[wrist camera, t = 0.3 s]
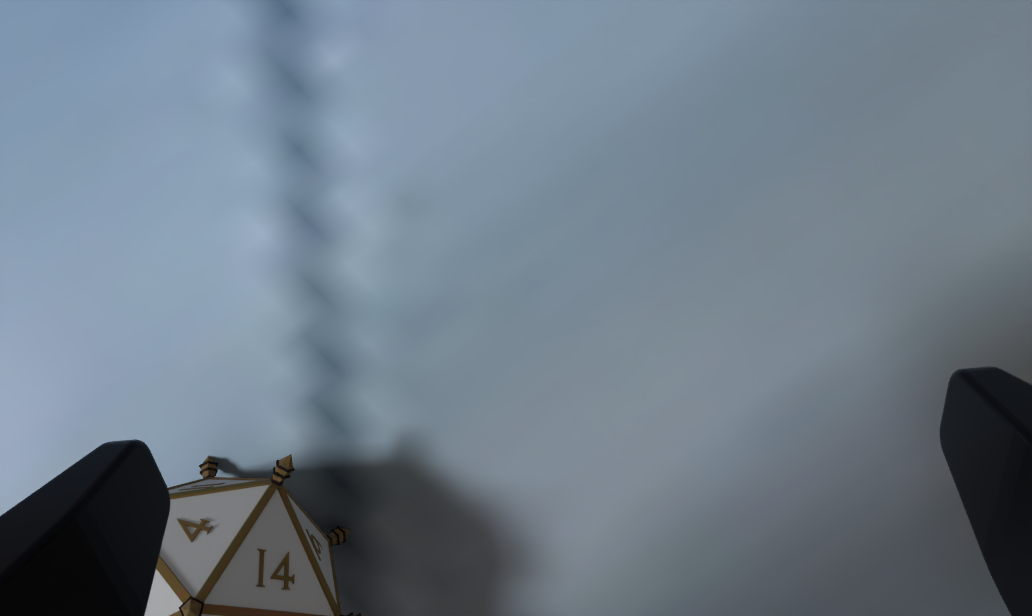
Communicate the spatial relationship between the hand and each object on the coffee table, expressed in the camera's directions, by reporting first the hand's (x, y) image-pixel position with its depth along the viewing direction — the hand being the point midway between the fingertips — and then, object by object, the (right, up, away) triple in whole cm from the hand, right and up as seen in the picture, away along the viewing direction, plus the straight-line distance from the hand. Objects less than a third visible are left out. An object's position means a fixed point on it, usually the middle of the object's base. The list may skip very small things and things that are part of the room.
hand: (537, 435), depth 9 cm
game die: (-9, -6, +19) cm, 22 cm away
